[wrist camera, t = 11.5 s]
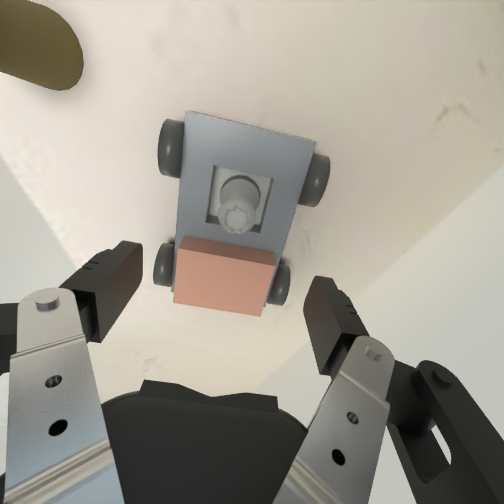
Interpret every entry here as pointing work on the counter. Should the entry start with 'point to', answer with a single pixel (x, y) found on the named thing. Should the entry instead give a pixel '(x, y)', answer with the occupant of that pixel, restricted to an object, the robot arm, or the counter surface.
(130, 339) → the counter surface
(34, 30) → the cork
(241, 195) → the rook chess piece
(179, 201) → the toy truck
